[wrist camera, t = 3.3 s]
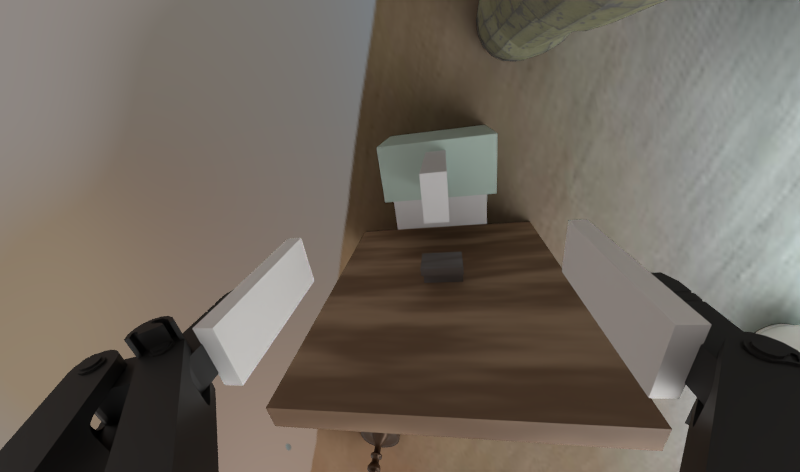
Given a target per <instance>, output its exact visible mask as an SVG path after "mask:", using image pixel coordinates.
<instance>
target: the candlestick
mask: <svg viewBox="0 0 800 472" xmlns="http://www.w3.org/2000/svg"><path fill="white" fill-rule="evenodd" d="M361 435H362V437H363V438H364V440H365V441H367V442H368V443H370V444H372V445H374V446H375V449H374V452H373V453H371V458H372V462H371V463H370V464H369V465H368V468H367V469H368V471H369V472H380V465H379V460H380V459H381V458H382V455H381V454H380V450H381V447H392V446H394V445H396V444H397V443H398V442H399V437H400V434H391V433H375V432H361Z"/></svg>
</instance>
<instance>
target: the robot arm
mask: <svg viewBox="0 0 800 472" xmlns="http://www.w3.org/2000/svg"><path fill="white" fill-rule="evenodd" d="M562 273H563V274H564V275H565V277H566V278H567V280H568V281H569V283H570V284H571V286H572V287H573V289H574V290H575V291H576V293H577V294H578V296H579V297H580V299H581V300H582V302H583V303H584V305H585V306H586V307H587V309H588V310H589V312H590V313H591V315H592V316H593V318H594V319H595V321H596V322H597V323H598V325H599V326H600V328H601V329H602V331H603V332H604V334H605V335H606V337H607V338H608V340H609V341H610V342H611V344H612V345H613V347H614V348H615V350H616V351H617V353H618V354H619V356H620V357H621V358H622V360H623V361H624V363H625V364H626V366H627V367H628V369H629V370H630V372H631V373H632V374H633V376H634V377H635V379H636V380H637V382H638V383H639V385H640V386H641V388H642V389H643V390H644V392H645V393H646V395H647V396H648V398H662V399H680V396H681V394H682V392H683V389H684V387H685V385H687V386H688V387H689V388H690V390H691V391H692V392H693V393H694V394H695V395H696V397H697V399H696V401H695V403H694V405H693V407H692V409H691V411H690V414H689V416H688V418H687V420H686V422H685V423H686V424H688V425H689V429H688V433H687V438H686V443H685V448H684V453H683V457H682V462H681V467H680V472H800V352H799V351H798V350H796V349H794V348H792V347H791V346H789V345H787V344H785V343H783V342H781V341H778V340H776V339H773V338H770V337H768V336H764V335H760V334H756V333H752V332H743V331H742V330H740V329H739V328H738V327H737V326H735V325H734V324H733V323H731V322H730V321H729V320H728V319H726V318H725V317H724V316H723V315H721V314H720V313H719V312H717V311H716V310H715V309H714V308H712V307H711V306H710V305H708V304H707V303H706V302H703V301H702V299H701V298H700V297H698V296H697V295H696V294H694V293H691V290H689V289H688V288H687V287H685V286H684V285H683V284H682V283H680V282H679V281H677V280H675V279H673V278H671V277H669V276H667V275H665V274H663V273H650V272H649V271H648V270H647V269H645V268H644V267H643V266H642V265H641V264H640V263H638V262H637V261H636V260H635V259H634V258H632V257H631V256H630V255H629V254H628V253H627V252H625V251H624V250H623V249H622V248H621V247H619V246H618V245H617V244H616V243H615V242H614V241H612V240H611V239H610V238H609V237H608V236H606V235H605V234H604V233H603V232H602V231H601V230H599V229H598V228H597V227H596V226H595V225H593V224H592V223H591V222H590V221H589V220H588V219H579V220H568V228H567V235H566V243H565V251H564V258H563V266H562ZM313 282H314V278H313V275H312V271H311V268H310V265H309V262H308V259H307V255H306V252H305V249H304V245H303V242H302V239H301V238H291V239H290V238H289V239H287V240H286V241H285V242H284V243H283V244H282V245H281V246H280V247H278V248H277V250H275V251H274V252H273V253H272V254H271V255H270V256H269V257H268V258H267V259H266V260H265V261H264V262H262V264H260V265H259V266H258V267H257V268H256V269H255V270H254V271H253V272H252V273H251V274H250V275H249V276H248V277H247V278H245V279H244V280H243V281H242V282H241V283H240V284H239V285H238V286H237V287H236V288H235V289H233V290H232V291H230V292H229V293H227V294H225V295H224V296H223V297H222V298H220V299H219V300H218V301H217V302H216V303H215V305H213V306H212V307H211V308H210V309H209V310H208V312H205V313H204V314H203V315H202V316H201V317H200V318H199V319H198V320H197V321H196V322H195V323H193V324H192V326H190V327H189V328H188V329H187V330H186V331H185V332H184V333H183V334H182V332H181V331H180V329H179V328H178V326H177V324H176V322H175V321H174V319H173V317H170V316H164V317H159V318H155V319H152V320H150V321H148V322H146V323H143V324H142V325H140V326H138V327H137V328H135V329H134V330H133V331H131V332H130V333H129V334H128V335H127V337H126V338H125V339H124V340H125V342H126V343H127V344H128V346H129V347H130V349H131V350H132V351H133V353H134V354H135V355H136V357H133V358H129V359H125V360H124V359H123V358H122V356H121V355H120V354H119V352H118V351H116V350H108V351H104V352H101V353H98V354H94V355H92V356H90V358H89V357H88V358H86V359H85V360H83V361H82V362H81V363H80V364H78V365H77V366H75V367H74V368H73V369H72V370H71V371H70V372H69V373H68V374H67V375H66V376H65V377H64V378H63V379H62V381H61V382H60V383H59V384H58V385H57V386H56V387H55V389H54V390H53V391H52V392H51V393H50V394H49V395H48V397H47V398H46V399H45V400H44V401H43V402H42V403H41V405H40V406H39V407H38V408H37V409H36V410H35V411H34V413H33V414H32V415H31V416H30V417H29V418H28V419H27V421H26V422H25V423H24V424H23V425H22V426H21V427H20V428H19V430H18V431H17V432H16V433H15V434H14V435H13V436H12V438H11V439H10V440H9V441H8V442H7V443H6V444H5V446H4V447H3V448H2V449H1V450H0V472H219V471H218V449H217V448H218V446H217V423H216V422H217V421H216V397H215V388H214V385H213V384H212V381H213V380H214V378H215V377H216V376H217V375H218V374H219V376H220V377H221V379H222V381H223V383H224V384H225V385H242V386H243V385H244V384H245V382H246V380H247V379H248V378H249V376H250V375H251V373H252V372H253V370H254V369H255V367H256V366H257V364H258V363H259V361H260V360H261V359H262V357H263V356H264V354H265V353H266V351H267V350H268V348H269V347H270V345H271V344H272V342H273V341H274V339H275V338H276V336H277V335H278V333H279V332H280V331H281V329H282V328H283V326H284V324H285V323H286V322H287V320H288V319H289V317H290V315H291V314H292V313H293V311H294V310H295V309H296V307H297V306H298V304H299V303H300V301H301V300H302V298H303V297H304V295H305V294H306V292H307V291H308V289H309V288H310V286H311V285H312V283H313ZM94 414H95V415H96V416H97V417H98V418H99V419H100V420H101V421H102V422H101V423H100V425H99V427H98V428H97V429H96V430H95V429H93V428H92V427H91V426H90V422H91V420H92V417H93V415H94Z"/></svg>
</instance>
